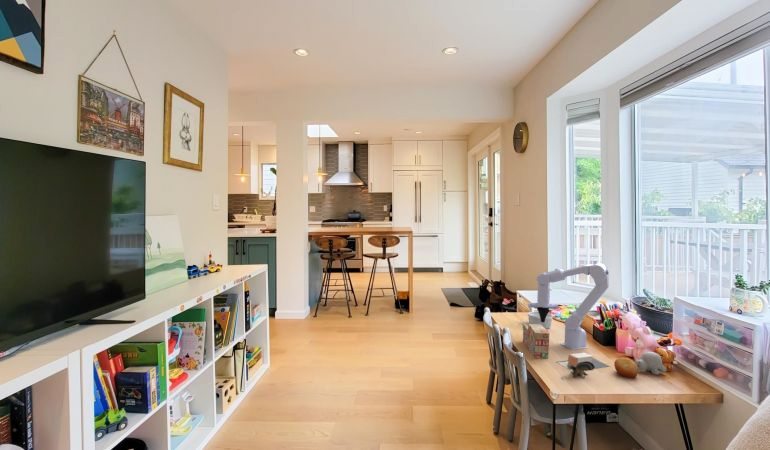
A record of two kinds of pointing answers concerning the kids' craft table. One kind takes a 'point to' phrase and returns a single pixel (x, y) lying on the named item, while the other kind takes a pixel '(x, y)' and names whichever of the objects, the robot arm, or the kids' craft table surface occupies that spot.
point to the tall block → (579, 358)
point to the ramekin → (535, 319)
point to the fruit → (626, 367)
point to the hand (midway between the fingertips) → (542, 321)
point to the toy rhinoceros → (650, 363)
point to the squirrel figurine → (581, 368)
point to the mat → (594, 362)
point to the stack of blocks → (536, 340)
